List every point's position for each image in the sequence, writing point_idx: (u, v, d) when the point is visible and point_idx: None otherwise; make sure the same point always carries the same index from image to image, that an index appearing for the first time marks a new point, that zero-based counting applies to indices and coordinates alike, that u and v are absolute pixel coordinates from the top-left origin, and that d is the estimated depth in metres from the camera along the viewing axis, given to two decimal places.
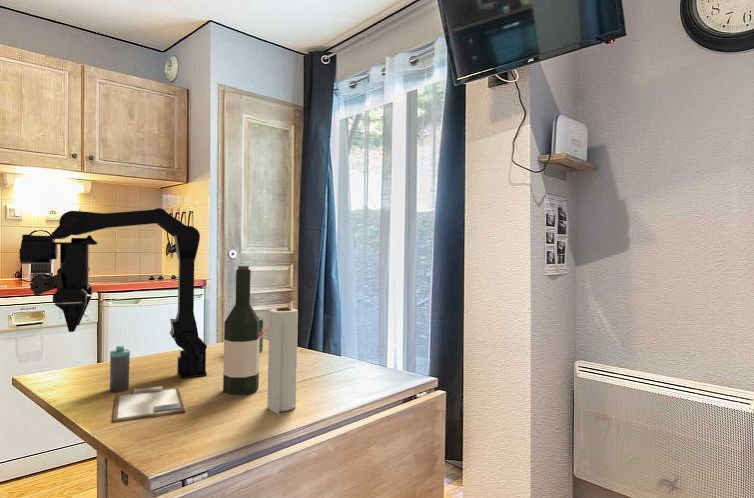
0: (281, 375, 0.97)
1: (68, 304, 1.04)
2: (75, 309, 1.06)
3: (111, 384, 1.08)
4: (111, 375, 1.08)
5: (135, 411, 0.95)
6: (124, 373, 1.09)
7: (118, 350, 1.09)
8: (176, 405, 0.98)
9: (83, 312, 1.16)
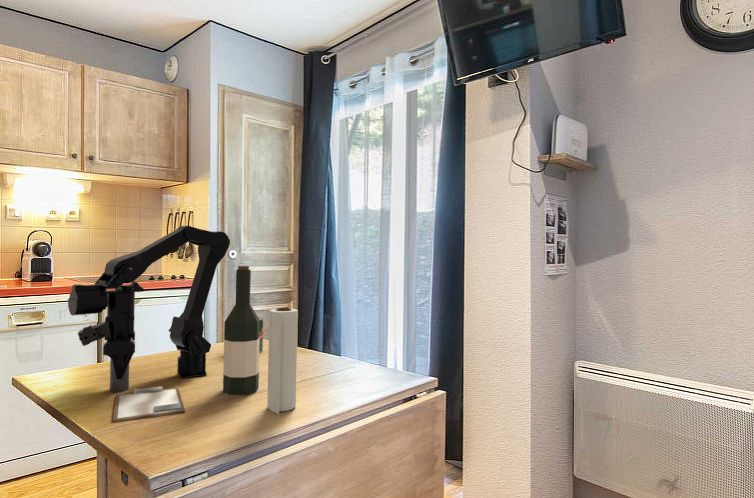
0: (281, 375, 0.97)
1: (118, 353, 1.05)
2: (123, 357, 1.07)
3: (111, 384, 1.08)
4: (111, 375, 1.08)
5: (135, 411, 0.95)
6: (124, 373, 1.09)
7: None
8: (176, 405, 0.98)
9: None
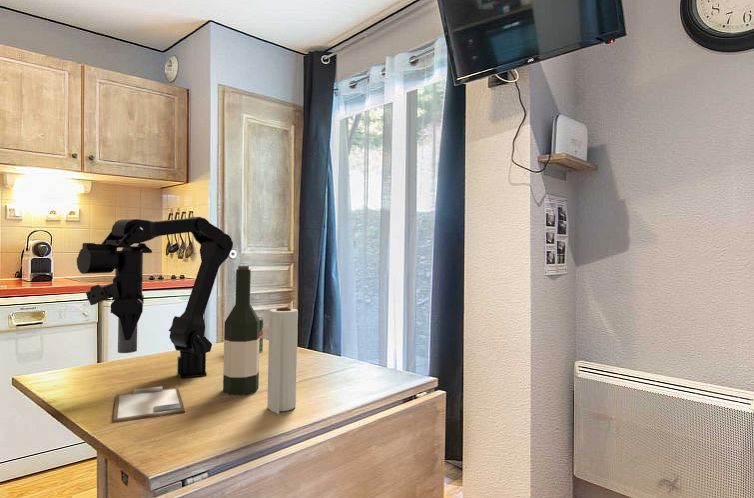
0: (281, 375, 0.97)
1: (126, 313, 1.04)
2: (131, 317, 1.06)
3: (119, 345, 1.07)
4: (119, 336, 1.07)
5: (135, 411, 0.95)
6: (132, 334, 1.08)
7: None
8: (176, 405, 0.98)
9: None
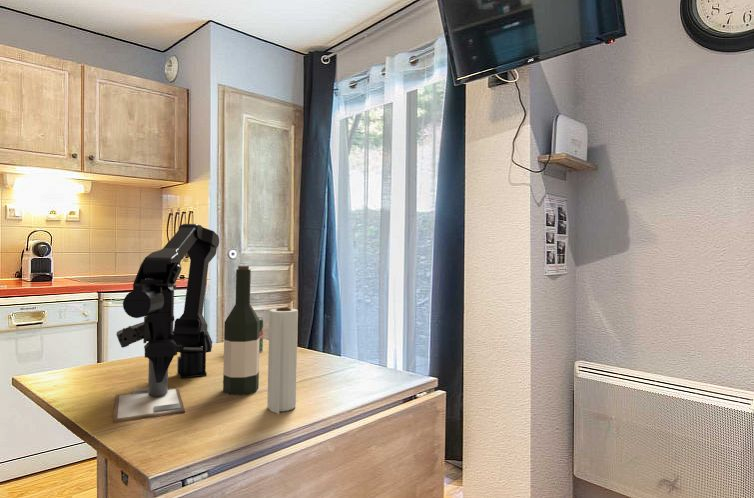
0: (281, 375, 0.97)
1: None
2: (164, 359, 1.02)
3: (150, 388, 1.03)
4: (150, 378, 1.03)
5: (135, 411, 0.95)
6: None
7: None
8: (176, 405, 0.98)
9: None
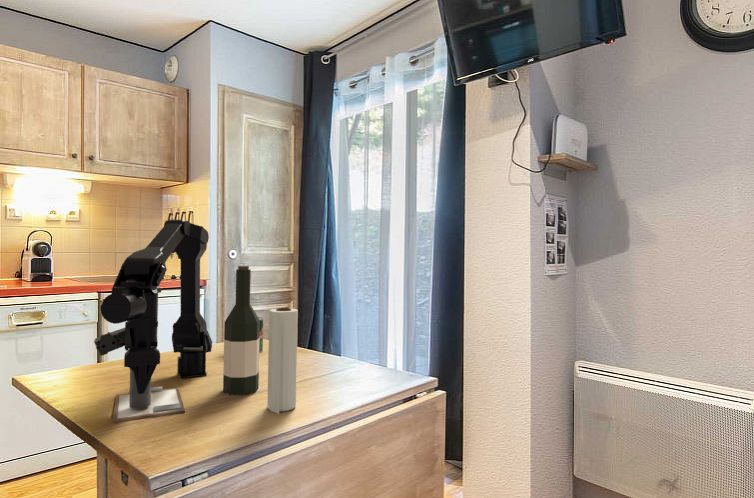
0: (281, 375, 0.97)
1: None
2: (146, 368, 0.94)
3: (131, 399, 0.95)
4: (132, 389, 0.95)
5: (135, 411, 0.95)
6: None
7: None
8: (176, 405, 0.98)
9: None
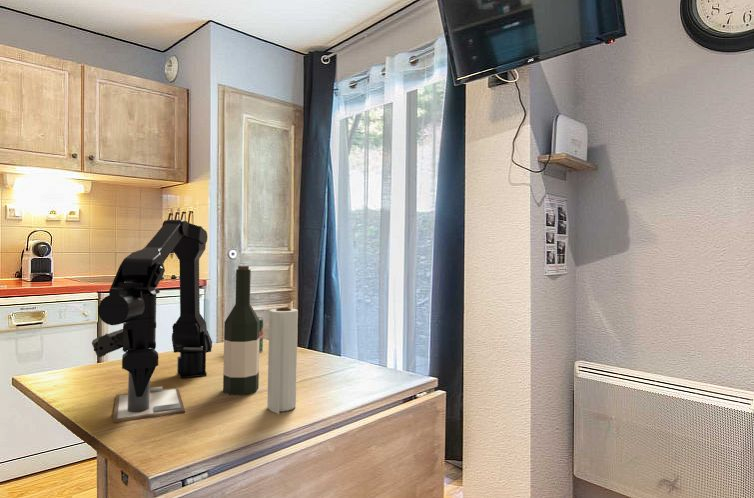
0: (281, 375, 0.97)
1: None
2: (144, 371, 0.92)
3: (130, 403, 0.94)
4: (130, 392, 0.94)
5: None
6: None
7: None
8: (176, 405, 0.98)
9: None
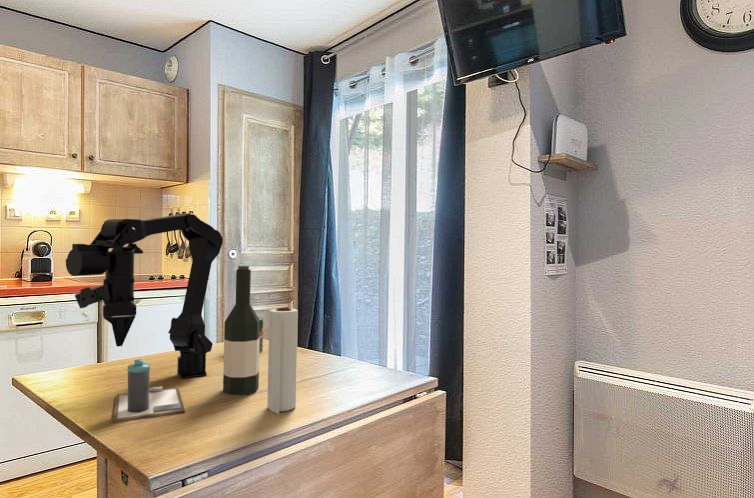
0: (281, 375, 0.97)
1: (118, 317, 0.98)
2: (124, 322, 1.01)
3: (129, 403, 0.94)
4: (130, 393, 0.94)
5: None
6: (144, 390, 0.95)
7: (137, 364, 0.95)
8: (176, 405, 0.98)
9: None
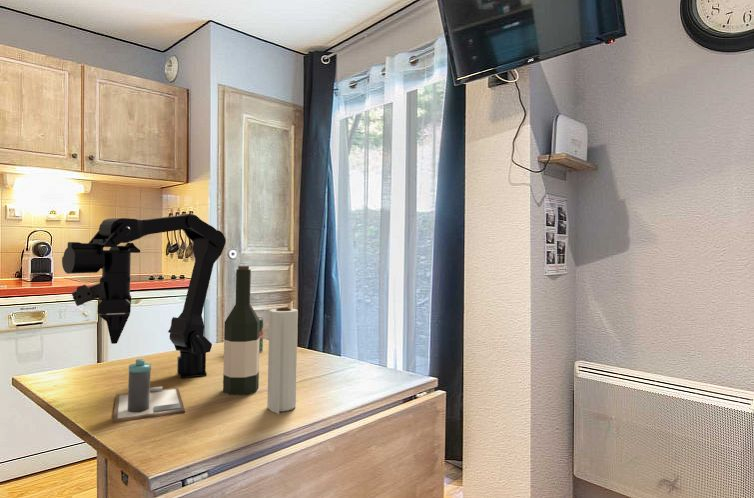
0: (281, 375, 0.97)
1: (112, 315, 1.00)
2: (118, 320, 1.02)
3: (130, 403, 0.94)
4: (130, 393, 0.94)
5: None
6: (145, 390, 0.95)
7: (138, 364, 0.95)
8: (176, 405, 0.98)
9: None
